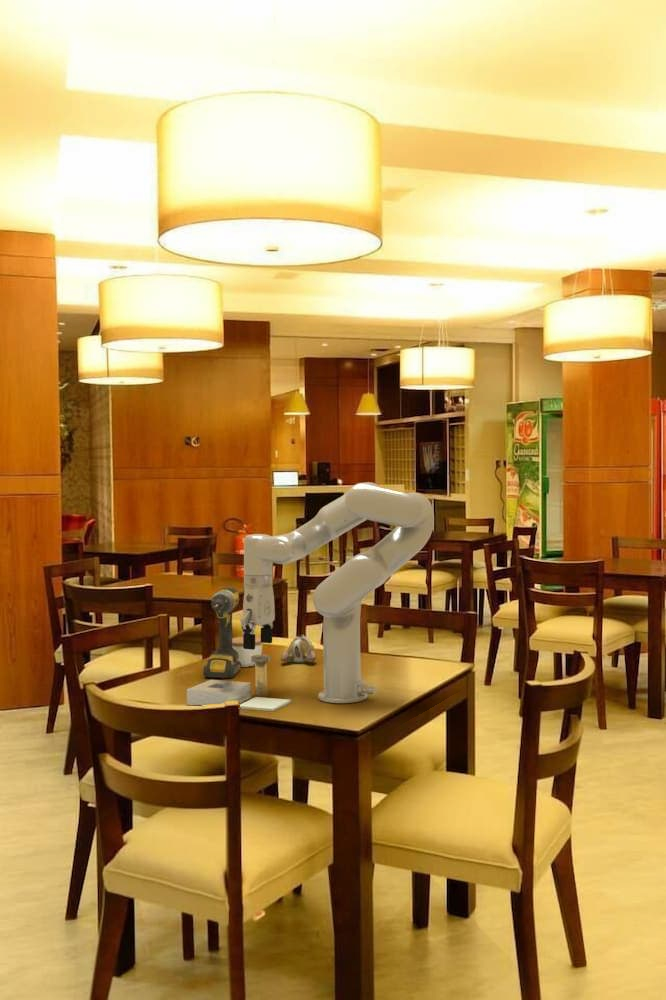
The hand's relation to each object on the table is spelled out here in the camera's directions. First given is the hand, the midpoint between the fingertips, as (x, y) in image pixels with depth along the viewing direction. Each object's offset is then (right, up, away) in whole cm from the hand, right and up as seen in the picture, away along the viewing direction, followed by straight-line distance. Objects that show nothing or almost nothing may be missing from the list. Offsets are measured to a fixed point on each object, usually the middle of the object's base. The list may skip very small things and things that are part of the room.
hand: (257, 645), depth 258 cm
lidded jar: (-7, -12, +41) cm, 43 cm away
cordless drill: (-13, -13, +24) cm, 30 cm away
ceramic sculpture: (+10, -12, +44) cm, 46 cm away
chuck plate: (-9, -13, -6) cm, 18 cm away
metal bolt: (+1, -13, 0) cm, 13 cm away
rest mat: (+3, -13, -11) cm, 18 cm away
